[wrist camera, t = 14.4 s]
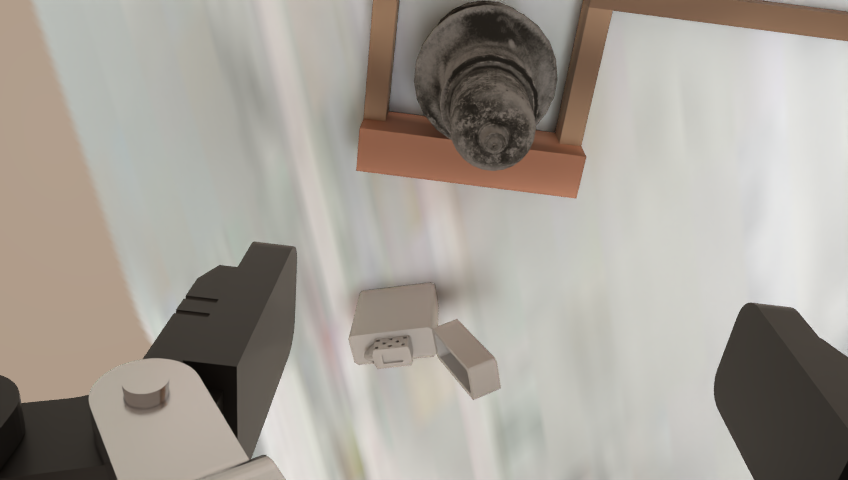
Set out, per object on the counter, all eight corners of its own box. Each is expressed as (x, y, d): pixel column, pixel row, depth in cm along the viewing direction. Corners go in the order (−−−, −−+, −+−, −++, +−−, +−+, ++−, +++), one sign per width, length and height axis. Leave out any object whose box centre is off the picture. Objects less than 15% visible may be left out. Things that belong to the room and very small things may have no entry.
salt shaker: (459, 145, 33) (460, 264, 23) (394, 38, 31) (361, 115, 21) (569, 83, 32) (626, 179, 21) (508, -34, 30) (537, 8, 19)
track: (1006, 229, 34) (1052, 258, 32) (364, 148, 34) (356, 170, 31) (1243, -196, 26) (1333, -205, 23) (402, -311, 26) (396, -334, 23)
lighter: (365, 317, 38) (344, 415, 31) (359, 291, 37) (335, 385, 30) (493, 302, 37) (501, 399, 30) (489, 275, 37) (497, 367, 30)
